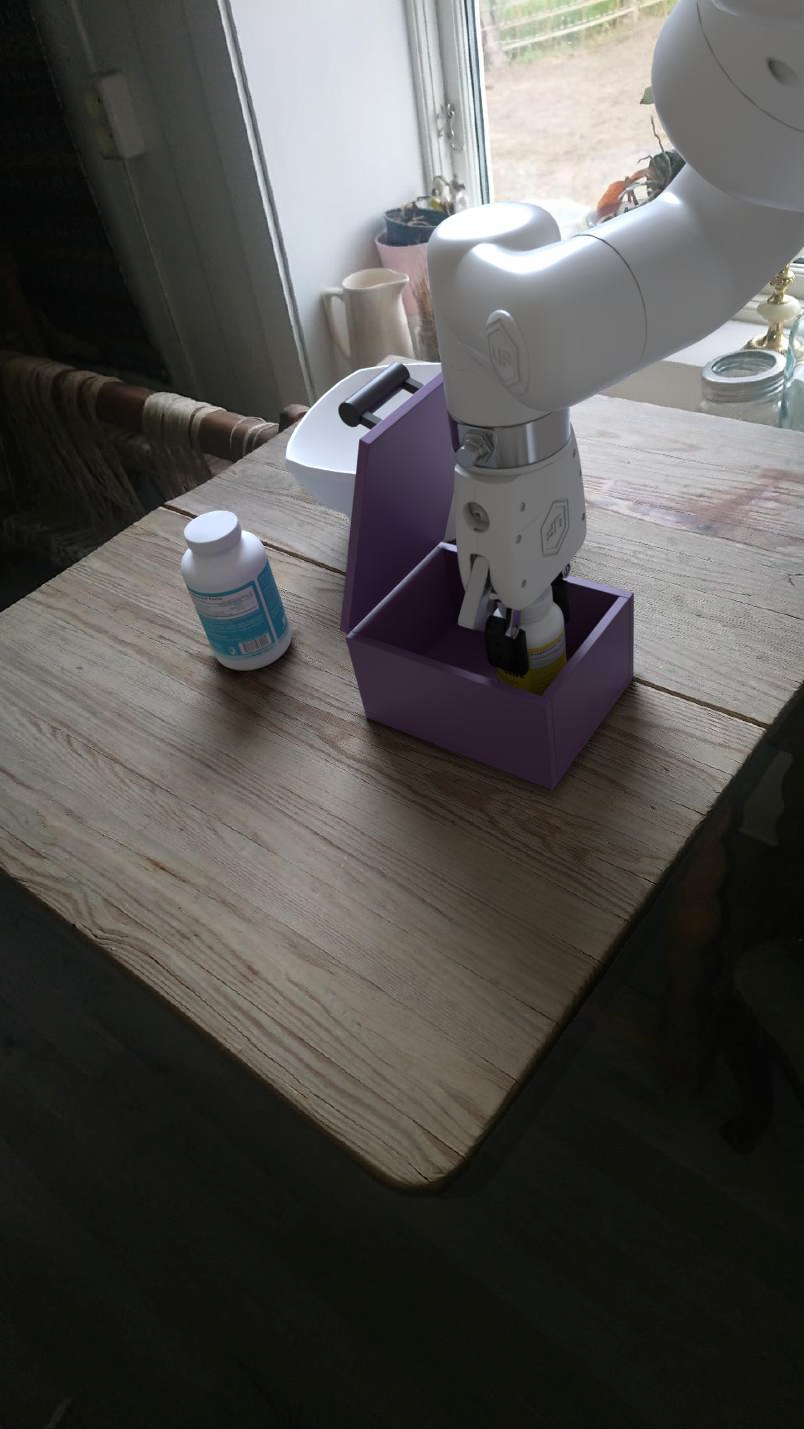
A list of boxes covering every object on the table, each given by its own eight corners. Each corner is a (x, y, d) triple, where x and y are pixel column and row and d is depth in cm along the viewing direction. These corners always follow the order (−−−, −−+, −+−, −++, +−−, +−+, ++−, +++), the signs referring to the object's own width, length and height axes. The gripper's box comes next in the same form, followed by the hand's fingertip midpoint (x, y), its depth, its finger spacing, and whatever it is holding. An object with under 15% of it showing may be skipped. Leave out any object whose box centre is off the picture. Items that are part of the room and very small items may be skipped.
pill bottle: (252, 613, 94) (210, 493, 85) (309, 634, 90) (272, 510, 81) (199, 660, 90) (149, 539, 81) (256, 684, 87) (212, 560, 77)
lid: (485, 347, 67) (424, 315, 68) (369, 444, 60) (303, 407, 61) (444, 539, 82) (394, 510, 83) (347, 635, 75) (295, 602, 76)
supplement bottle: (487, 681, 78) (474, 583, 72) (546, 657, 79) (539, 558, 73) (519, 722, 74) (508, 622, 68) (581, 695, 75) (576, 594, 69)
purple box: (633, 677, 80) (634, 592, 74) (552, 790, 72) (545, 706, 66) (453, 621, 88) (441, 541, 82) (365, 717, 81) (344, 637, 75)
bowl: (368, 455, 112) (348, 359, 104) (556, 466, 104) (550, 362, 96) (285, 570, 99) (254, 469, 91) (494, 592, 90) (481, 483, 82)
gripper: (489, 508, 55) (515, 732, 67) (625, 370, 64) (626, 590, 76) (382, 483, 59) (426, 700, 71) (525, 356, 68) (542, 568, 80)
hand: (529, 641), depth 74 cm, fingers closed on supplement bottle, 5 cm apart
